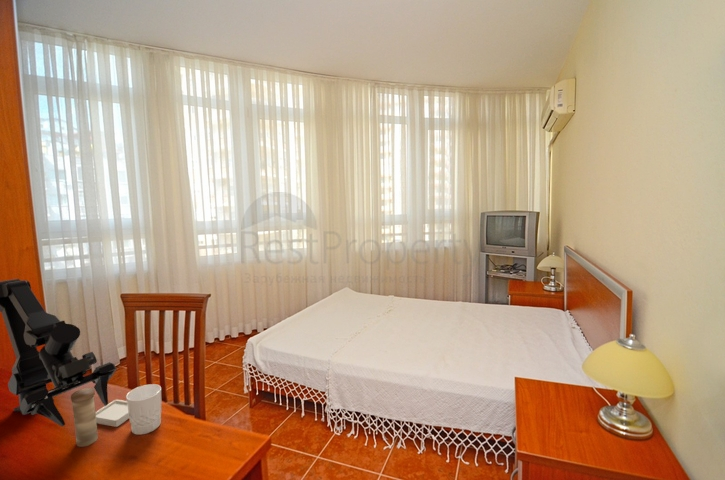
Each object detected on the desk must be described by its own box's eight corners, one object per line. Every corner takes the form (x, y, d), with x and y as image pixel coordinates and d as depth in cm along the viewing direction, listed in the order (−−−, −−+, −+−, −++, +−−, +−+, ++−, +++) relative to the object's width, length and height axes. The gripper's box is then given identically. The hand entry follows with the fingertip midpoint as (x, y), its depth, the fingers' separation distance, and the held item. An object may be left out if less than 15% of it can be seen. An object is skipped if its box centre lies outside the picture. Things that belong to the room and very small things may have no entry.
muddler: (70, 445, 85) (65, 397, 84) (88, 433, 90) (84, 386, 88) (85, 448, 84) (80, 399, 83) (103, 436, 89) (99, 389, 87)
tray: (89, 421, 94) (89, 415, 94) (116, 404, 102) (115, 399, 102) (116, 426, 92) (116, 420, 92) (141, 409, 100) (141, 403, 100)
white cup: (169, 418, 96) (167, 384, 95) (149, 437, 88) (147, 401, 87) (143, 416, 97) (141, 383, 96) (121, 435, 89) (118, 399, 88)
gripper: (19, 362, 78) (47, 422, 74) (110, 333, 94) (136, 381, 91) (8, 386, 82) (34, 443, 79) (97, 354, 99) (122, 401, 95)
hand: (86, 414), depth 86 cm, fingers open, 9 cm apart
